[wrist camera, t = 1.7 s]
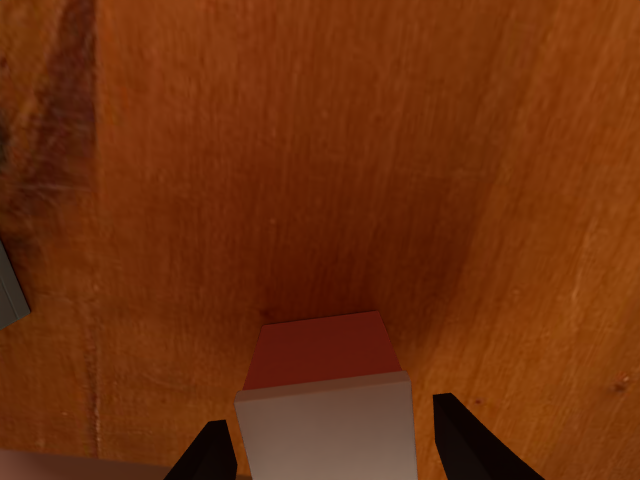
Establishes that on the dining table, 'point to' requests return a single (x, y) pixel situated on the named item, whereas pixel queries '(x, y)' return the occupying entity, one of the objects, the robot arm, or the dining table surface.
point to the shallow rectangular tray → (10, 294)
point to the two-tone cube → (327, 403)
